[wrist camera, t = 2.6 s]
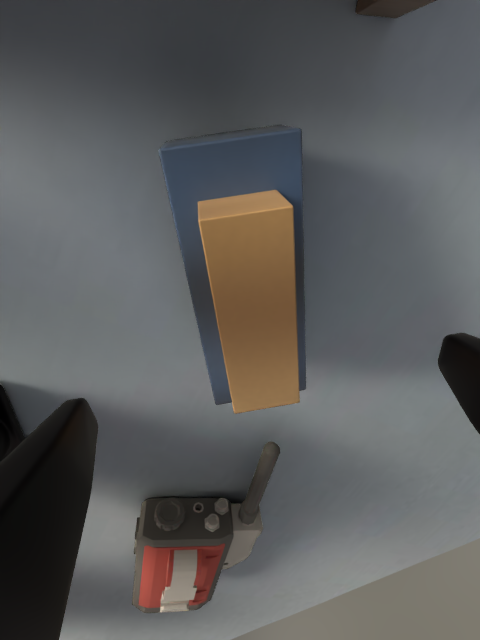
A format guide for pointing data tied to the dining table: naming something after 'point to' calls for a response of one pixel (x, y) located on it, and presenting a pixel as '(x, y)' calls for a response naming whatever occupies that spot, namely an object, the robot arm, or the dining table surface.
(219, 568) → the walkie-talkie
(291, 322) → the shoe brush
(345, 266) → the dining table surface
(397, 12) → the shoe rack
